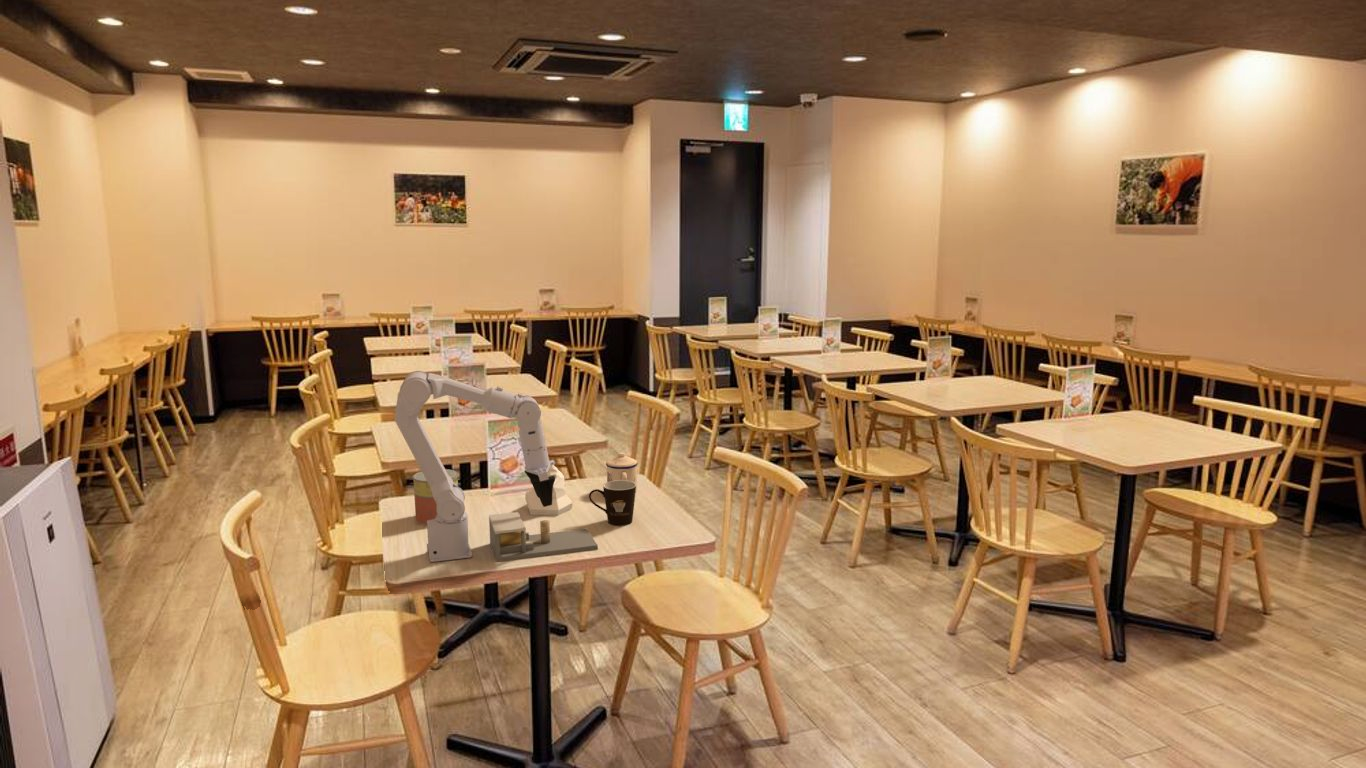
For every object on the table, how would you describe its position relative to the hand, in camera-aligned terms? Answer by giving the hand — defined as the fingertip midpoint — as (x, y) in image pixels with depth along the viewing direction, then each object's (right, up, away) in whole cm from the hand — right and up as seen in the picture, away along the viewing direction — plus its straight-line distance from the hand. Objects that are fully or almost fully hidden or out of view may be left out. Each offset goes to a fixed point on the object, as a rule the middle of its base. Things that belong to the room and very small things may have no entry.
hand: (544, 500), depth 206 cm
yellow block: (-5, -10, 0) cm, 11 cm away
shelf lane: (-1, -11, +2) cm, 11 cm away
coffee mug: (+15, -8, +20) cm, 26 cm away
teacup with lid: (+16, -4, +43) cm, 46 cm away
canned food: (-32, -8, +21) cm, 39 cm away
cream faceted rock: (-3, -6, +30) cm, 31 cm away
